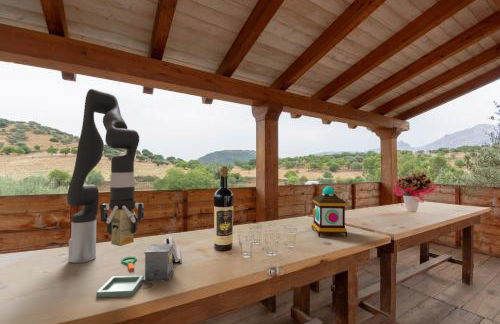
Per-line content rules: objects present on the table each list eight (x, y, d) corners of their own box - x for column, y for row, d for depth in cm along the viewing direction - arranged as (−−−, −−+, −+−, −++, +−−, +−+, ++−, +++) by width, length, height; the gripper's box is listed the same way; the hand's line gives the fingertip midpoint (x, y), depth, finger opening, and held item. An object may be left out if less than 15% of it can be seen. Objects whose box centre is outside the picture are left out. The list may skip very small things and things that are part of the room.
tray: (96, 297, 77) (96, 292, 77) (112, 281, 88) (112, 276, 88) (132, 296, 78) (132, 290, 78) (143, 280, 89) (144, 275, 89)
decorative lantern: (350, 238, 143) (350, 187, 144) (316, 238, 143) (317, 187, 144) (338, 229, 163) (338, 185, 164) (309, 229, 163) (309, 184, 164)
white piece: (182, 263, 105) (174, 242, 104) (171, 268, 104) (163, 246, 103) (180, 250, 121) (173, 232, 120) (170, 254, 119) (163, 236, 118)
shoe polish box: (125, 240, 87) (125, 206, 88) (133, 242, 85) (133, 207, 85) (111, 244, 83) (111, 208, 83) (119, 246, 81) (119, 209, 81)
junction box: (142, 282, 88) (142, 252, 88) (150, 270, 97) (150, 244, 97) (168, 281, 89) (168, 252, 89) (174, 270, 98) (174, 243, 98)
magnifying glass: (120, 260, 108) (120, 257, 108) (135, 258, 111) (135, 254, 111) (123, 273, 95) (123, 269, 95) (139, 270, 98) (139, 266, 98)
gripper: (95, 186, 80) (94, 237, 80) (140, 186, 81) (140, 235, 81) (106, 185, 87) (106, 231, 87) (147, 184, 89) (147, 230, 88)
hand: (122, 233), depth 84 cm, fingers closed on shoe polish box, 7 cm apart
